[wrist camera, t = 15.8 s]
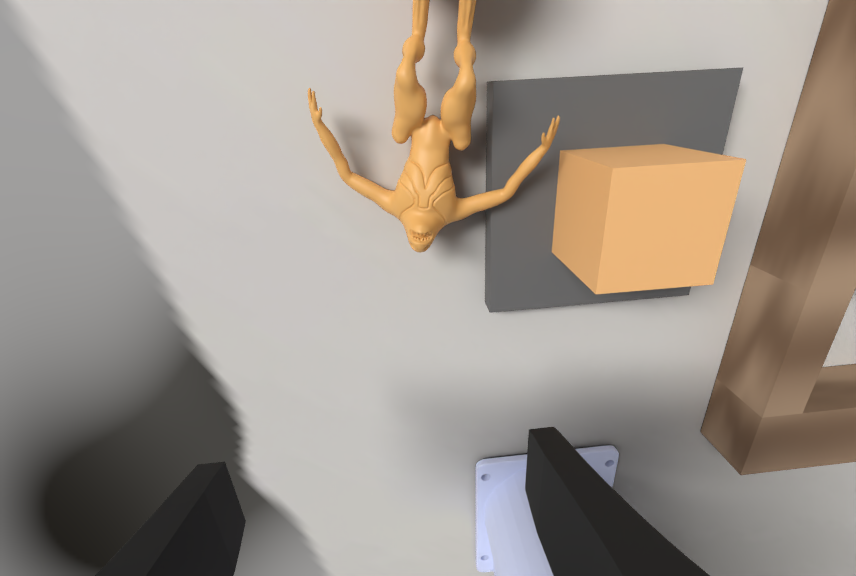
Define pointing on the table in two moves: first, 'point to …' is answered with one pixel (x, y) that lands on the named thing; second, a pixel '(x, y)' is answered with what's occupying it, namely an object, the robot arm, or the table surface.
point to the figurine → (430, 141)
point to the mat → (581, 129)
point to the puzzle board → (799, 286)
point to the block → (643, 215)
